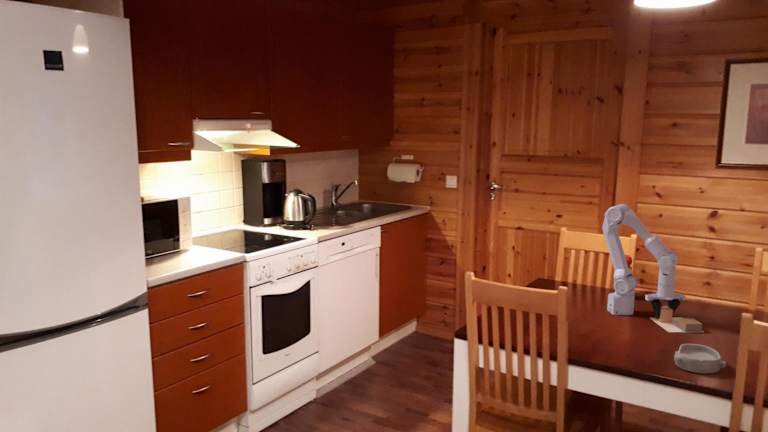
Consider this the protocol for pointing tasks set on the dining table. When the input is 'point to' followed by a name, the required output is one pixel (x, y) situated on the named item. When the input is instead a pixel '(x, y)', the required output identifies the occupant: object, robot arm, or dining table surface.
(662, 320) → the terracotta block
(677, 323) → the board
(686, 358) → the dish
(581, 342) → the dining table surface
